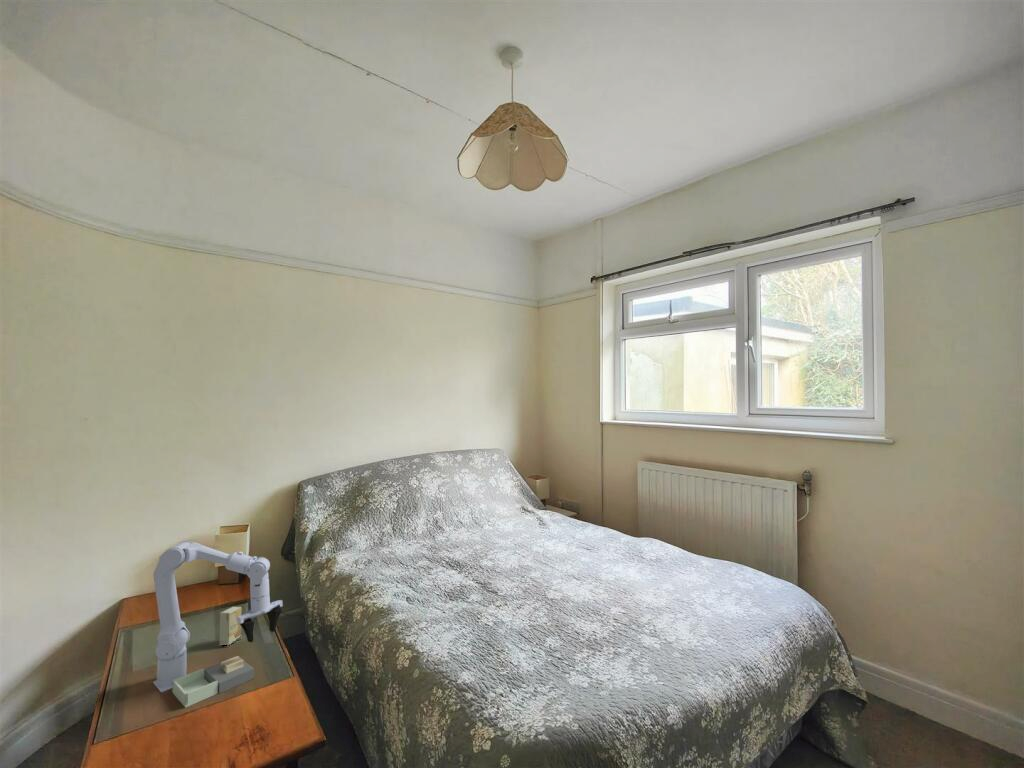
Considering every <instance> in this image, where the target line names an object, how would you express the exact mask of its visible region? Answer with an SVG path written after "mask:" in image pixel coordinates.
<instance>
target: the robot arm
mask: <svg viewBox="0 0 1024 768" xmlns="http://www.w3.org/2000/svg"><path fill="white" fill-rule="evenodd" d="M158 558H159V559H158V563H157V564H156V567H155V569H154V571H153V573H152V576H153V582H154V590H155V596H156V597H155V598H156V602H157V603H156V604H157V605H156V606H157V610H158V618H159V625H160V630H159V633H158V635H157V644H156V647H155V652H154V653H155V655H156V657H157V658H158V659H157V665H156V680H154V681H153V683H152V684H154V686H155V687H156V688H157V689H158V691H159V692H160V693H164V692H165V691H169V690H172V680H175V679H178V678H180V677H183V676H185V675H187V662H188V661H187V658H188V655H187V651H188V649H187V643H188V642H189V640H190V638H191V632H190V630H188V628H187V627H186V622H184V621H183V620H182V619H181V612H180V611H181V610H180V605H179V600H178V592H177V585H176V579H175V577H176V576H175V573H176V572H177V571H178V570H179V568H180V567H181V566H182V564H184V563H186V564H187V563H189V562H193V561H196V560H202V561H206V562H207V561H208V562H211V563H215V564H216V563H217V564H219V565H220V564H221V565H224V566H225V569H226V570H228V571H233V572H236V573H240V574H243V575H247V577H248V578H249V582H250V583H249V587H250V589H249V591H250V592H249V593H250V609H249V610H248V611H247V612H244V613H243V614H241V616H238V617H237V623H239V624H240V625H241V629H242V630H243V631H244V634H245V636H246V640H247V643H248V642H249V643H253V642H254V626H255V621H253V620H252V619H254V618H256V617H259V616H261V615H264V614H266V613H267V615H268V622H269V624H268V625H269V631H270V632H272V633H274V632H276V628H277V624H278V620H279V618H280V615H281V613H282V607H283V605H284V603H283V600H282V599H279V600H275V601H272V602H271V598H270V579H269V572H268V571H269V570H270V568H271V562H270V560H269V559H268V558H266V557H264V556H259V557H258V556H256V555H254V556H251V555H248V554H244V552H243V551H238V552H236V551H234V552H232V553H230V554H229V553H226V552H223V551H221V550H218V549H215V548H212V547H209V546H207V545H203V544H201V543H199V542H196V541H194V542H193V541H191V540H182V541H180V542H178V544H176V545H174V546H172V547H169V548H168V549H167V548H166V550H165V551H164V552H163V553H162V554H161V555H160V556H159V557H158Z"/></svg>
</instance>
